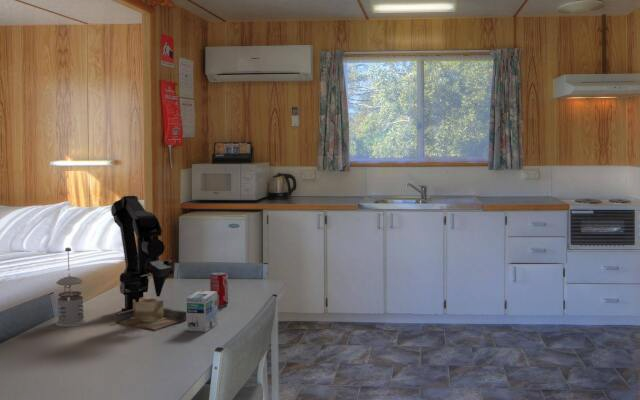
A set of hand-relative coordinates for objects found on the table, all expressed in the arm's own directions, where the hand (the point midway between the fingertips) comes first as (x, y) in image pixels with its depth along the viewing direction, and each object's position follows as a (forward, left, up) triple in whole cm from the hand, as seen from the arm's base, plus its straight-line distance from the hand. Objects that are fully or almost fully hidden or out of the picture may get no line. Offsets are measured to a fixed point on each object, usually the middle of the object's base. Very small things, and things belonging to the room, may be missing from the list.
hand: (148, 299), depth 226 cm
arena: (+2, -1, -7) cm, 8 cm away
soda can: (+7, +27, -7) cm, 29 cm away
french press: (-21, -15, -7) cm, 27 cm away
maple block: (0, 0, -6) cm, 6 cm away
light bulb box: (+21, +3, -7) cm, 23 cm away
